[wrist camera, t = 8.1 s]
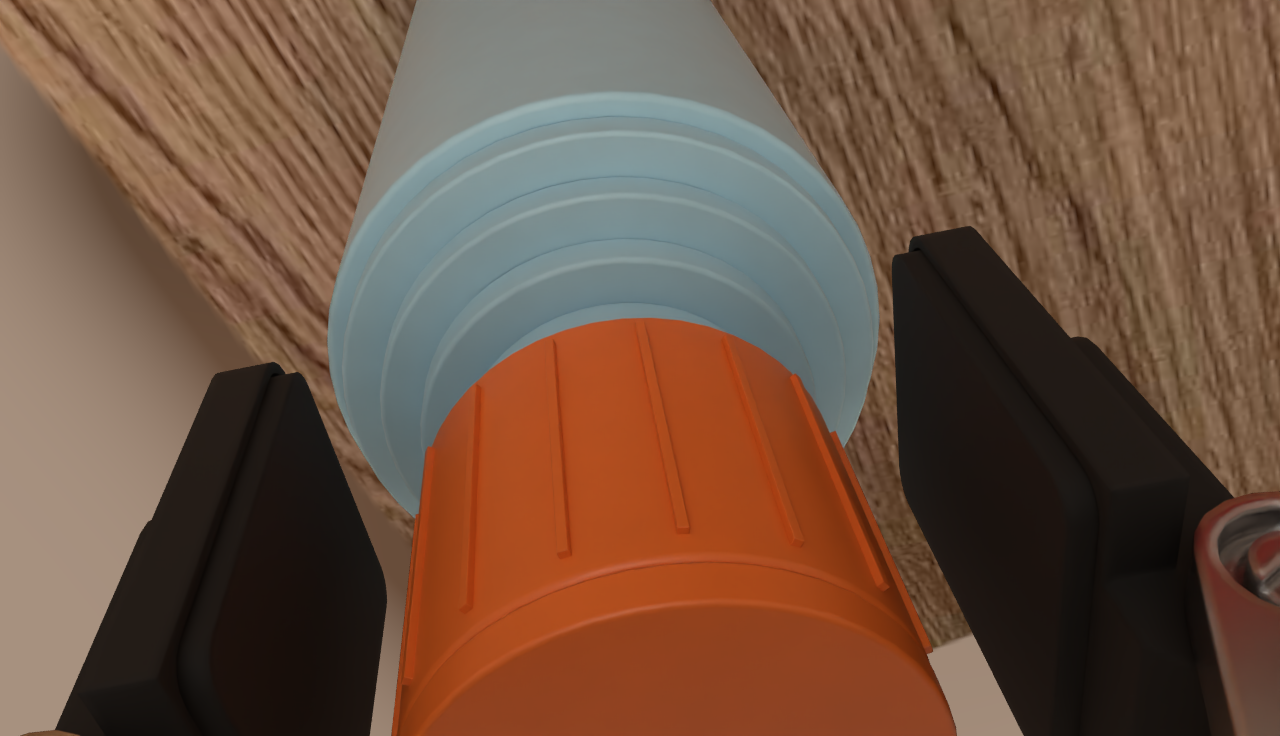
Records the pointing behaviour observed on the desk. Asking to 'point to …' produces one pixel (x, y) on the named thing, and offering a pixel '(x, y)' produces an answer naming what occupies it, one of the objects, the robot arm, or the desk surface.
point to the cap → (653, 555)
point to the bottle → (583, 213)
